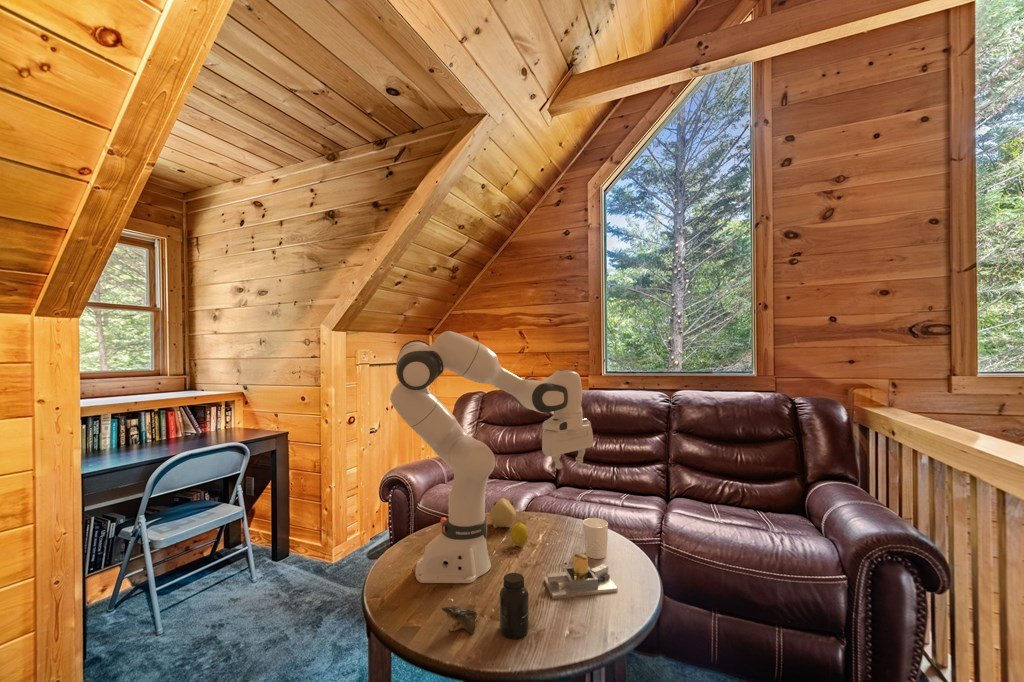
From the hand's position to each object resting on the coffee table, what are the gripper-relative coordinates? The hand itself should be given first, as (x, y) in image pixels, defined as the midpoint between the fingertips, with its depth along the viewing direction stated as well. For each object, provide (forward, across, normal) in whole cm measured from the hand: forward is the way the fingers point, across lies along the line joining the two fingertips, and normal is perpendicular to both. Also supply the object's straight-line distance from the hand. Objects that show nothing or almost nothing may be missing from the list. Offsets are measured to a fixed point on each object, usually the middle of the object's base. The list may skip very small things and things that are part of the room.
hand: (569, 465), depth 130 cm
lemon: (+29, +6, -18) cm, 35 cm away
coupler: (+28, +9, +12) cm, 32 cm away
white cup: (+29, -9, +3) cm, 31 cm away
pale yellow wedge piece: (+29, 0, -34) cm, 45 cm away
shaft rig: (+29, +9, +12) cm, 33 cm away
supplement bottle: (+29, +34, +14) cm, 47 cm away
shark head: (+29, +44, +5) cm, 53 cm away
